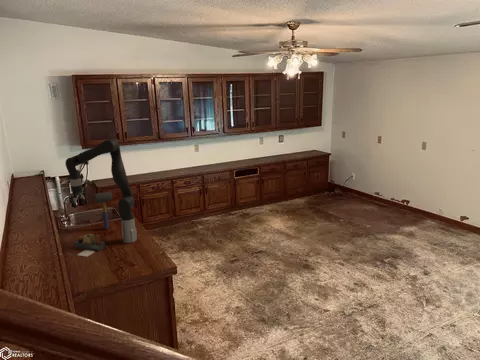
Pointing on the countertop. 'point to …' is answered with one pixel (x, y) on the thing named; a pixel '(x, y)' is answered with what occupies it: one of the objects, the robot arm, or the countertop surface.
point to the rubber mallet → (104, 205)
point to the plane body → (94, 246)
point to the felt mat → (86, 253)
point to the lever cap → (89, 238)
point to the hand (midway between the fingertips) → (79, 206)
